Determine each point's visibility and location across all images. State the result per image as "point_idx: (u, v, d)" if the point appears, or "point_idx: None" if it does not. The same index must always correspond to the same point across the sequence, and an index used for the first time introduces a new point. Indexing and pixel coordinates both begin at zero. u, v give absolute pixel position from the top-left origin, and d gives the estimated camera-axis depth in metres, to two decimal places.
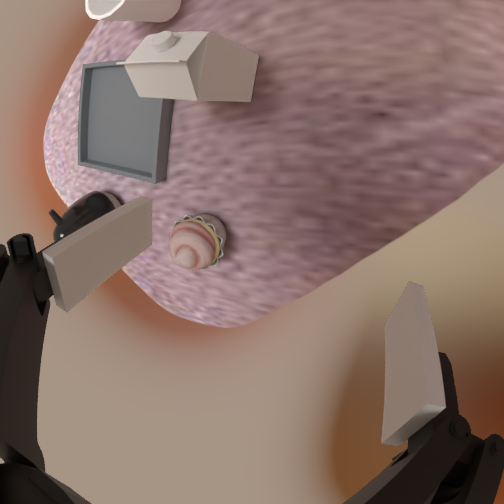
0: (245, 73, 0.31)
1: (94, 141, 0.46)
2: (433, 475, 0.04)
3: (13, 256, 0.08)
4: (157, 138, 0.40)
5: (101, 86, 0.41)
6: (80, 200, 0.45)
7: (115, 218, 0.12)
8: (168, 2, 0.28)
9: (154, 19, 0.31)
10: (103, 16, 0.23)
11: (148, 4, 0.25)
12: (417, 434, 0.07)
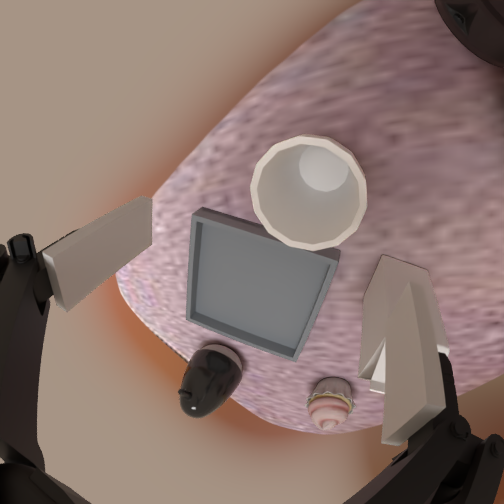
0: None
1: (207, 299, 0.48)
2: (432, 476, 0.04)
3: (13, 256, 0.08)
4: (308, 332, 0.41)
5: (220, 246, 0.42)
6: (204, 368, 0.46)
7: (115, 218, 0.12)
8: None
9: None
10: (298, 245, 0.24)
11: None
12: (417, 434, 0.07)
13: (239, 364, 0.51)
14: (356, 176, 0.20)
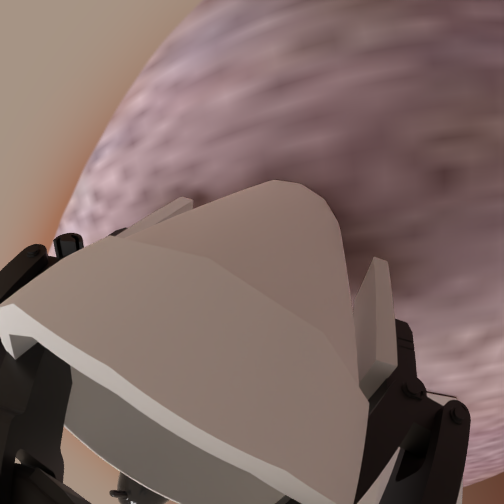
0: None
1: None
2: (390, 437, 0.05)
3: (59, 255, 0.09)
4: None
5: None
6: None
7: (161, 218, 0.12)
8: None
9: None
10: (166, 497, 0.07)
11: None
12: (373, 395, 0.08)
13: None
14: None
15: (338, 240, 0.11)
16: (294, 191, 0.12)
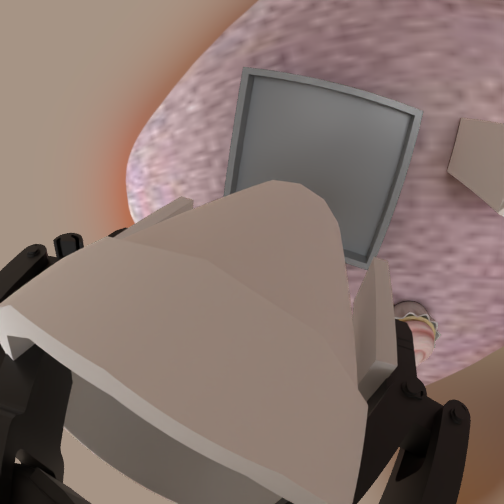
0: None
1: None
2: (390, 436, 0.05)
3: (59, 255, 0.09)
4: (390, 217, 0.30)
5: (275, 110, 0.31)
6: None
7: (162, 218, 0.12)
8: None
9: None
10: (165, 498, 0.07)
11: None
12: (373, 396, 0.08)
13: None
14: None
15: (337, 240, 0.11)
16: (293, 191, 0.12)
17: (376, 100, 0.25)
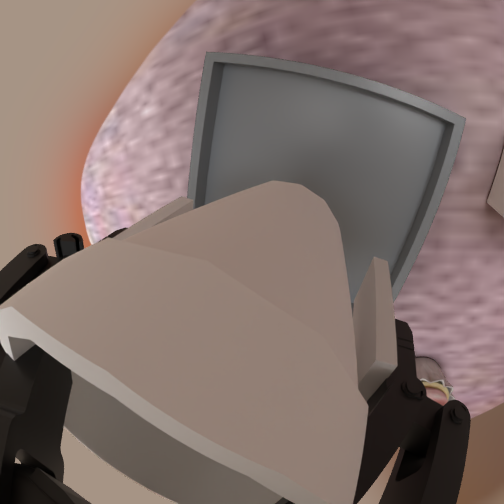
0: None
1: None
2: (390, 437, 0.05)
3: (59, 255, 0.09)
4: (409, 266, 0.21)
5: (252, 111, 0.22)
6: None
7: (162, 218, 0.12)
8: None
9: None
10: (166, 498, 0.07)
11: None
12: (373, 396, 0.08)
13: None
14: None
15: (338, 241, 0.11)
16: (294, 192, 0.12)
17: (400, 98, 0.16)
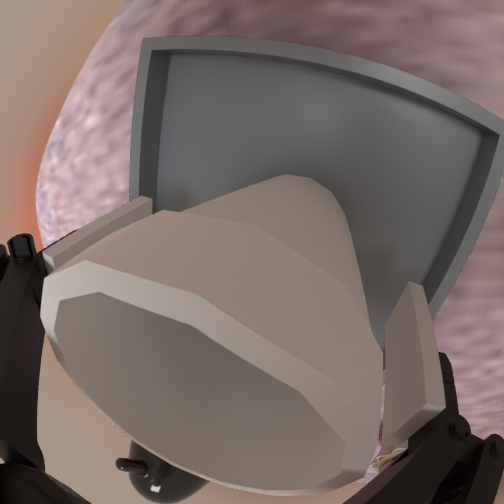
0: None
1: None
2: (432, 476, 0.04)
3: (13, 256, 0.08)
4: None
5: (207, 115, 0.15)
6: None
7: (115, 218, 0.12)
8: None
9: None
10: (190, 471, 0.08)
11: None
12: (417, 434, 0.07)
13: None
14: (342, 432, 0.04)
15: (346, 227, 0.13)
16: (306, 183, 0.13)
17: (424, 93, 0.10)
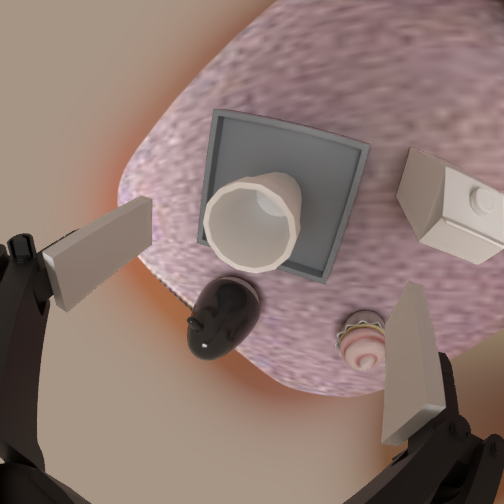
0: None
1: None
2: (432, 476, 0.04)
3: (13, 256, 0.08)
4: (340, 238, 0.37)
5: (241, 146, 0.38)
6: (217, 296, 0.41)
7: (115, 218, 0.12)
8: None
9: None
10: (243, 268, 0.30)
11: None
12: (417, 434, 0.07)
13: (257, 298, 0.46)
14: (285, 213, 0.26)
15: (297, 189, 0.35)
16: (282, 174, 0.35)
17: (327, 138, 0.32)
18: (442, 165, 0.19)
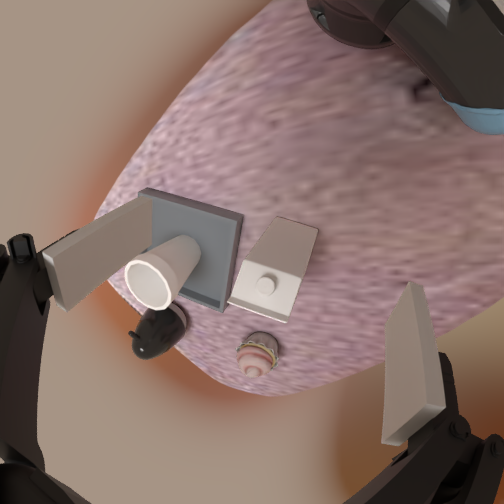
0: (309, 258, 0.44)
1: None
2: (432, 475, 0.04)
3: (13, 256, 0.08)
4: (226, 283, 0.53)
5: (160, 216, 0.54)
6: (151, 317, 0.58)
7: (115, 218, 0.12)
8: (192, 268, 0.52)
9: None
10: (149, 307, 0.46)
11: None
12: (417, 434, 0.07)
13: (182, 317, 0.62)
14: (162, 279, 0.42)
15: (191, 251, 0.51)
16: (182, 240, 0.51)
17: (207, 215, 0.48)
18: (246, 257, 0.35)
